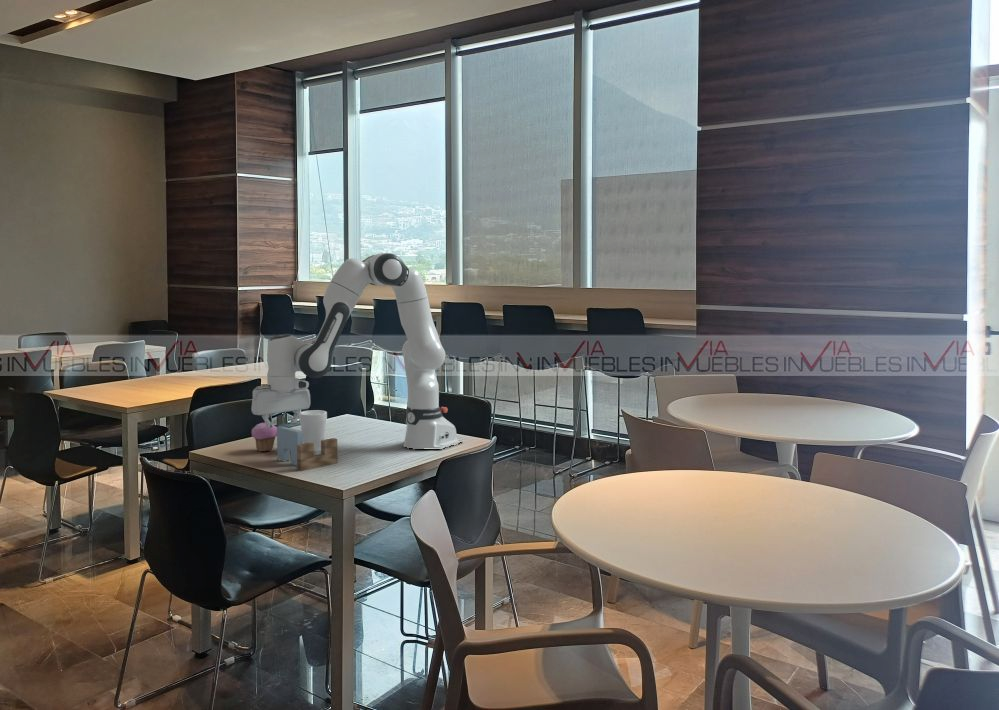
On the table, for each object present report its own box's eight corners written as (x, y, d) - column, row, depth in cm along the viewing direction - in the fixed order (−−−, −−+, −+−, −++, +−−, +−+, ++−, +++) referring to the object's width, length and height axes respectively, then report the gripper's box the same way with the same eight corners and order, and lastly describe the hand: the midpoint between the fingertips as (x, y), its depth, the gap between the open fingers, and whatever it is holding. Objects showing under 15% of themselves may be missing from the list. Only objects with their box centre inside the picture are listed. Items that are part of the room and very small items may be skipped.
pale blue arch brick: (277, 459, 259) (276, 426, 258) (282, 458, 261) (281, 426, 260) (298, 465, 251) (297, 432, 250) (303, 464, 253) (302, 431, 252)
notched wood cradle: (334, 461, 257) (333, 438, 256) (337, 462, 256) (337, 438, 255) (297, 469, 247) (296, 444, 246) (301, 470, 245) (300, 445, 244)
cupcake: (274, 446, 278) (273, 419, 277) (281, 451, 270) (281, 423, 269) (248, 449, 273) (247, 421, 272) (255, 454, 266) (255, 426, 264)
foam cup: (330, 446, 279) (330, 410, 277) (322, 452, 270) (321, 415, 268) (305, 445, 280) (304, 410, 278) (295, 451, 270) (295, 414, 269)
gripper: (258, 387, 246) (258, 431, 248) (313, 382, 261) (313, 422, 263) (247, 385, 250) (247, 428, 252) (302, 380, 265) (302, 420, 267)
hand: (281, 425), depth 257 cm, fingers open, 8 cm apart
